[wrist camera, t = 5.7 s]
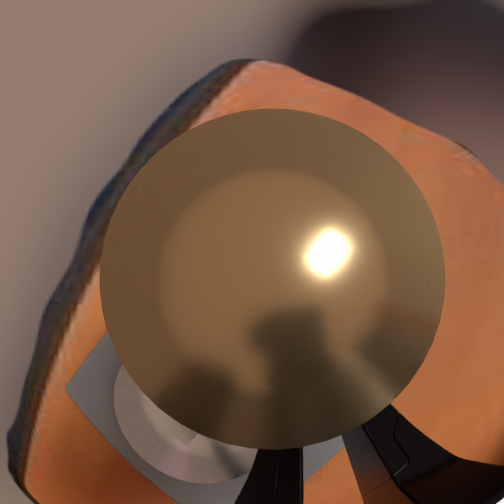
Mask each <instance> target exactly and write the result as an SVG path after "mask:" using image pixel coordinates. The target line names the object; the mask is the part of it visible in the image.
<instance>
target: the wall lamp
mask: <svg viewBox="0 0 504 504" xmlns="http://www.w3.org/2000/svg"><path fill="white" fill-rule="evenodd" d="M444 289H445V268H444V257H443V250H442V245H441V241H440V236H439V232H438V229H437V226H436V223H435V220H434V218H433V215H432V212H431V210H430V208H429V206H428V204H427V202H426V200H425V198H424V196H423V194H422V193H421V191H420V189H419V188H418V187H417V185H416V184H415V182H414V181H413V179H412V178H411V176H410V175H409V174H408V173H407V171H406V170H405V169H404V168H403V167H402V166H401V165H400V164H399V162H398V161H397V160H396V159H395V158H394V157H393V156H392V155H390V154H389V153H388V152H387V151H386V150H385V149H384V148H382V147H381V146H380V145H379V144H377V143H376V142H375V141H373V140H372V139H370V138H369V137H367V136H366V135H364V134H363V133H361V132H359V131H357V130H355V129H353V128H351V127H350V126H348V125H346V124H343V123H341V122H338V121H336V120H333V119H330V118H328V117H325V116H321V115H317V114H313V113H309V112H304V111H297V110H289V109H258V110H248V111H242V112H238V113H233V114H229V115H225V116H222V117H219V118H216V119H213V120H210V121H207V122H205V123H203V124H201V125H199V126H197V127H194V128H192V129H190V130H188V131H187V132H185V133H183V134H182V135H180V136H179V137H177V138H176V139H174V140H172V141H171V142H170V143H168V144H167V145H166V146H165V147H163V148H162V149H161V150H160V151H159V152H157V153H156V154H155V155H154V156H153V157H152V158H151V159H150V160H149V161H148V162H147V163H146V164H145V165H144V166H143V167H142V168H141V170H140V171H139V172H138V173H137V175H136V176H135V177H134V179H133V180H132V181H131V183H130V184H129V185H128V187H127V189H126V190H125V192H124V194H123V195H122V197H121V199H120V201H119V202H118V204H117V206H116V209H115V211H114V213H113V216H112V218H111V220H110V223H109V226H108V230H107V233H106V236H105V240H104V244H103V250H102V256H101V263H100V294H101V303H102V310H103V315H104V319H105V323H106V327H107V331H108V333H109V336H110V339H111V341H112V344H113V346H114V349H115V351H116V353H117V355H118V357H119V359H120V360H121V362H122V364H123V365H122V366H121V368H120V370H119V373H118V375H117V378H116V382H115V386H114V408H115V414H116V417H117V420H118V424H119V426H120V428H121V430H122V433H123V434H124V436H125V438H126V439H127V441H128V442H129V444H130V445H131V446H132V448H133V449H134V450H135V451H136V452H137V453H138V455H139V456H140V457H142V458H143V459H144V460H145V461H146V462H147V463H149V464H150V465H151V466H153V467H154V468H156V469H157V470H159V471H161V472H163V473H164V474H167V475H169V476H171V477H174V478H176V479H180V480H183V481H187V482H192V483H201V484H214V483H221V482H226V481H230V480H233V479H236V478H238V477H240V476H243V475H244V474H246V473H248V472H249V471H250V470H251V468H252V465H253V462H254V459H255V456H256V453H257V450H258V449H270V450H279V449H290V448H299V447H305V446H309V445H313V444H317V443H321V442H325V441H328V440H330V439H333V438H335V437H338V436H340V435H343V434H345V433H347V432H349V431H351V430H353V429H355V428H357V427H358V426H360V425H362V424H363V423H365V422H367V421H368V420H370V419H371V418H373V417H374V416H375V415H377V414H378V413H379V412H380V411H382V410H383V409H384V408H385V407H386V406H388V405H389V404H390V403H391V402H392V401H393V400H394V399H395V398H396V397H397V396H398V395H399V394H400V393H401V392H402V390H403V389H404V388H405V387H406V386H407V385H408V384H409V382H410V381H411V379H412V378H413V376H414V375H415V374H416V372H417V371H418V369H419V368H420V366H421V365H422V363H423V361H424V359H425V357H426V355H427V353H428V351H429V349H430V347H431V345H432V342H433V340H434V337H435V334H436V331H437V328H438V325H439V321H440V317H441V312H442V306H443V301H444Z"/></svg>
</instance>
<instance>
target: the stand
mask: <svg viewBox="0 0 504 504" xmlns="http://www.w3.org/2000/svg"><path fill="white" fill-rule="evenodd" d="M122 365H123V364H122V362H121V360H120V359H119V357H118V355H117V353H116V351H115V349H114V346H113V344H112V341H111V339H110V336H109V333H108V332H107V333H106V334H105V336H104V337H103V338H102V340H101V341H100V342H99V343H98V345H97V346H96V347H95V349H94V350H93V351H92V352H91V354H90V355H89V356H88V358H87V359H86V360H85V362H84V363H83V364H82V366H81V367H80V368H79V370H78V371H77V372H76V374H75V375H74V377H73V378H72V379H71V381H70V382H69V383H68V385H67V386H66V388H65V390H66V391H67V392H68V394H69V395H70V396H71V398H72V399H73V400H74V402H75V403H76V404H77V406H78V407H79V408H80V409H81V411H82V412H83V413H84V414H85V416H86V417H87V418H88V419H89V421H90V422H91V423H92V424H93V425H94V426H95V428H96V429H97V430H98V431H99V432H100V433H101V434H102V435H103V436H104V438H105V439H106V440H107V441H108V442H109V443H110V444H111V445H112V446H113V447H114V448H115V449H116V450H117V451H118V452H119V453H120V454H121V455H122V456H123V457H124V458H125V459H126V460H127V461H128V462H129V463H130V464H131V465H132V466H133V467H135V468H136V469H137V470H138V471H139V472H140V473H141V474H142V475H144V476H145V477H146V478H147V479H148V480H149V481H151V482H152V483H153V484H154V485H155V486H157V487H158V488H159V489H160V490H162V491H163V492H164V493H166V494H167V495H168V496H169V497H171V498H172V499H173V500H175V501H176V502H178V503H179V504H234V503H235V501H236V499H237V497H238V495H239V493H240V492H241V490H242V488H243V486H244V484H245V482H246V479H247V477H248V475H249V473H250V471H249V472H248V473H246V474H244V475H243V476H240V477H238V478H236V479H233V480H230V481H226V482H221V483H214V484H201V483H192V482H187V481H183V480H180V479H176V478H174V477H171V476H169V475H167V474H164V473H163V472H161V471H159V470H157V469H156V468H154V467H153V466H151V465H150V464H149V463H147V462H146V461H145V460H144V459H143V458H142V457H140V456H139V455H138V453H137V452H136V451H135V450H134V449H133V448H132V446H131V445H130V444H129V442H128V441H127V439H126V438H125V436H124V434H123V433H122V430H121V428H120V426H119V424H118V420H117V417H116V414H115V408H114V386H115V382H116V378H117V375H118V373H119V370H120V368H121V366H122ZM344 446H345V445H344V442H343V439H342V436H341V435H340V436H338V437H335V438H333V439H330V440H328V441H325V442H321V443H317V444H313V445H309V446H305V447H303V482H304V481H306V480H307V479H308V478H309V477H311V476H312V475H313V474H314V473H316V472H317V471H318V470H319V469H320V468H321V467H323V466H324V465H325V464H326V463H327V462H328V461H329V460H330V459H332V458H333V457H334V456H335V455H336V454H337V453H338V452H339V451H340V450H341V449H342V448H343V447H344Z"/></svg>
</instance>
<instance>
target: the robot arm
mask: <svg viewBox="0 0 504 504" xmlns="http://www.w3.org/2000/svg"><path fill="white" fill-rule="evenodd" d="M341 436H342V439H343V442H344V445H345V448H346V451H347V453H348V456H349V459H350V462H351V465H352V468H353V471H354V474H355V477H356V480H357V483H358V486H359V489H360V492H361V495H362V499H363V502H364V504H504V465H503V466H501V465H494V464H488V463H482V462H477V461H472V460H467V459H463V458H460V457H457V456H455V455H453V454H451V453H450V452H448V451H447V450H445V449H444V448H443V447H441V446H440V445H438V444H437V443H435V442H434V441H433V440H431V439H430V438H429V437H427V436H426V435H425V434H423V433H422V432H421V431H419V430H418V429H417V428H416V427H414V426H413V425H412V424H411V423H410V422H409V421H408V420H407V419H406V418H405V417H404V416H403V415H402V414H401V413H398V411H397V410H396V409H395V408H394V407H393V406H392V405H391V404H389V405H388V406H386V407H385V408H384V409H383V410H382V411H380V412H379V413H378V414H377V415H375V416H374V417H373V418H371V419H370V420H368V421H367V422H365V423H363V424H362V425H360V426H358V427H357V428H355V429H353V430H351V431H349V432H347V433H345V434H343V435H341ZM234 504H303V447H299V448H290V449H279V450H270V449H258V450H257V453H256V456H255V459H254V462H253V465H252V468H251V470H250V473H249V475H248V477H247V479H246V482H245V484H244V486H243V488H242V490H241V492H240V493H239V495H238V497H237V499H236V501H235V503H234Z"/></svg>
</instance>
